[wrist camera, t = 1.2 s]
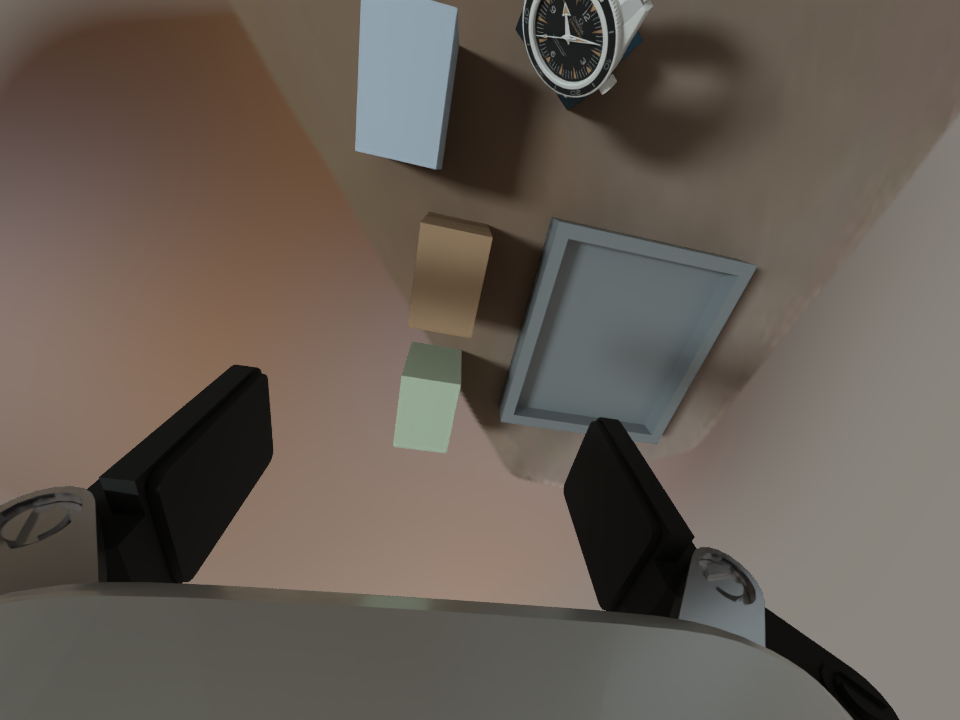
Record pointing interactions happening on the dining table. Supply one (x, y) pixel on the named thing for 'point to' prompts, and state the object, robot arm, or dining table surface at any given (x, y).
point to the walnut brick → (449, 274)
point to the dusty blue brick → (406, 79)
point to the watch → (580, 42)
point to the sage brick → (428, 398)
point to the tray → (616, 330)
